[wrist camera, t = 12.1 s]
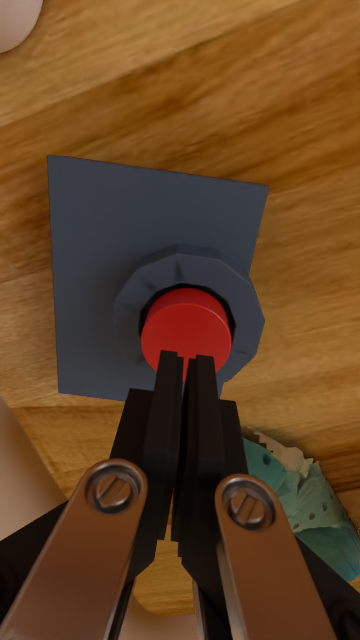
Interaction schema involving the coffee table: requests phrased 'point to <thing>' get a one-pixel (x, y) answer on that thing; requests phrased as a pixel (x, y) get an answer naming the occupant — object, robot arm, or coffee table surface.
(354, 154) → the coffee table surface
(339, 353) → the coffee table surface
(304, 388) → the coffee table surface
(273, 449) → the teal shoe
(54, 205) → the button box
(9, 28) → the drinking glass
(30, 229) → the coffee table surface
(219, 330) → the button
